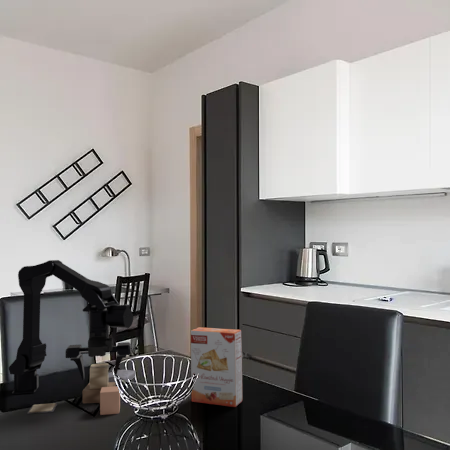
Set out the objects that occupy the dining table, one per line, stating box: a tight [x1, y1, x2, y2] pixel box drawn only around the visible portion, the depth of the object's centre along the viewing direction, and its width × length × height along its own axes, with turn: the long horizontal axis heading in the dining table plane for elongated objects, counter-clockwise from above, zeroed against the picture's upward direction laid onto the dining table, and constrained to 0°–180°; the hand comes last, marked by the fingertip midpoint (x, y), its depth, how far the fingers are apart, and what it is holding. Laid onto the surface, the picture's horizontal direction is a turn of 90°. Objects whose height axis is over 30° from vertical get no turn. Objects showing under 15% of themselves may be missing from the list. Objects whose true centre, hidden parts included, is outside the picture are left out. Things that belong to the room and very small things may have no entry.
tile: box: [27, 402, 58, 415], centre depth 136 cm, size 7×7×1 cm
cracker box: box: [190, 326, 243, 408], centre depth 139 cm, size 14×6×21 cm, turn 68°
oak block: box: [89, 362, 109, 389], centre depth 144 cm, size 5×5×6 cm
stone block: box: [108, 369, 136, 386], centre depth 160 cm, size 12×5×10 cm
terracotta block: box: [99, 386, 121, 416], centre depth 133 cm, size 5×5×6 cm
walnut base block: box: [82, 382, 115, 404], centre depth 144 cm, size 8×8×4 cm
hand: (99, 378), depth 144 cm, fingers open, 9 cm apart
